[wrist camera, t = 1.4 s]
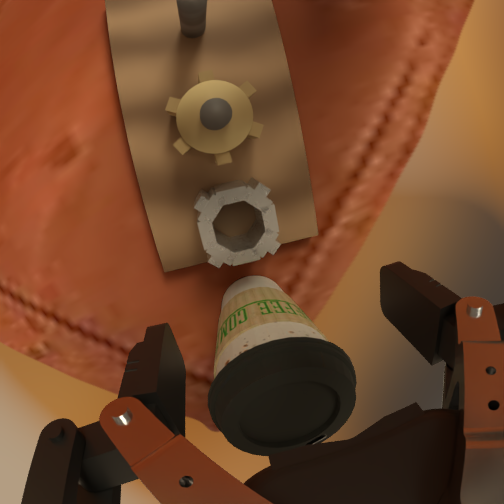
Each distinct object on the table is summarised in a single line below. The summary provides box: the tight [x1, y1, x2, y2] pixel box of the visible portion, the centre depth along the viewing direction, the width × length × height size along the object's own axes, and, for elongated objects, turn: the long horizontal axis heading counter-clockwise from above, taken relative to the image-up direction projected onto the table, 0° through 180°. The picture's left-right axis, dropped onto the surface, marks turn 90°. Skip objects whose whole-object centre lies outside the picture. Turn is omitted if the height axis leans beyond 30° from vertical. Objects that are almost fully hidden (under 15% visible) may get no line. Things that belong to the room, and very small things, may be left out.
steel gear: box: [194, 178, 281, 268], centre depth 25 cm, size 6×6×4 cm
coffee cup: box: [208, 276, 356, 456], centre depth 24 cm, size 10×10×15 cm
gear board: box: [105, 0, 318, 272], centre depth 21 cm, size 26×14×8 cm, turn 12°
